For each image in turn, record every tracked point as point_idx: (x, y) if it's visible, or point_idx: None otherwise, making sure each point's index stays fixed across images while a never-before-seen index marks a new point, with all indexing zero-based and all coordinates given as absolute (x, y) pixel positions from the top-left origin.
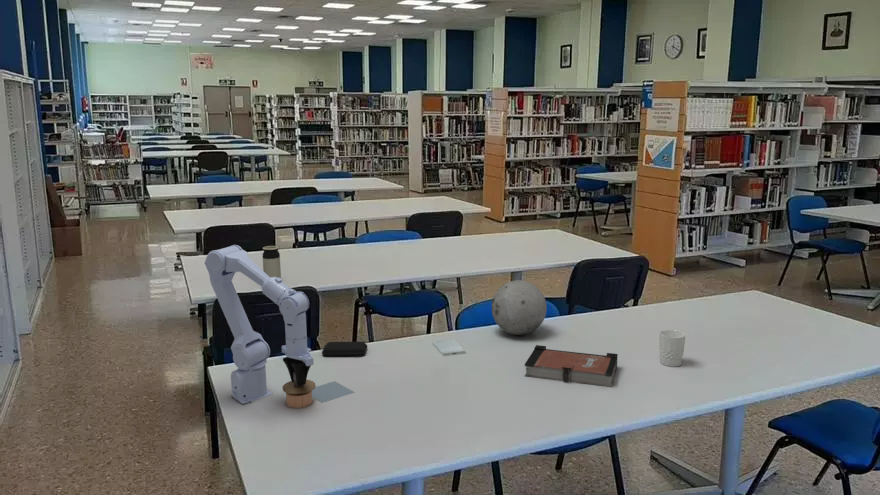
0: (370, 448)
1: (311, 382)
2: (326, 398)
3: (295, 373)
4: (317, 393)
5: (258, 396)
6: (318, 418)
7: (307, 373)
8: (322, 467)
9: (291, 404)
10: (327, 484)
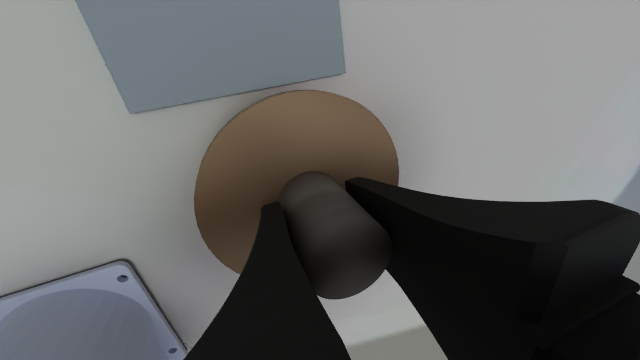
0: (632, 67)
1: (303, 112)
2: (311, 25)
3: (411, 296)
4: (215, 41)
5: (149, 321)
6: (435, 132)
7: (428, 196)
8: (587, 189)
9: None
10: (616, 193)
